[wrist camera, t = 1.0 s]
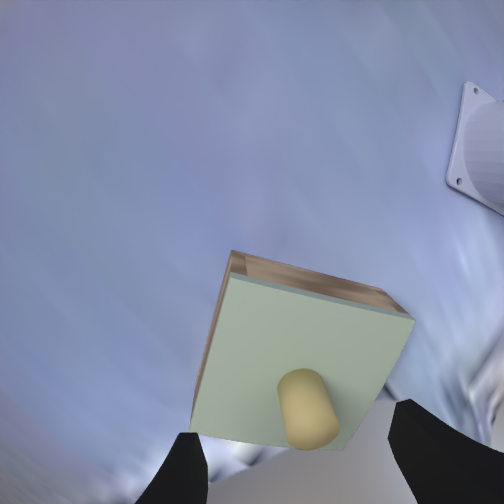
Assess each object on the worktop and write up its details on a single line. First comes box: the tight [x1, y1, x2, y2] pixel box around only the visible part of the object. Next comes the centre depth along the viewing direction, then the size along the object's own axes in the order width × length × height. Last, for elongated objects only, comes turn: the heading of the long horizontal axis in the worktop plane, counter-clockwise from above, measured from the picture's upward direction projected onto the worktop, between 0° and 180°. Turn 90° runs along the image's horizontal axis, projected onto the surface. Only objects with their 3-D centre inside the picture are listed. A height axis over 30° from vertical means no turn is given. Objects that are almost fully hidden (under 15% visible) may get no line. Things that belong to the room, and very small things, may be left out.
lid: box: [189, 272, 416, 450], centre depth 15 cm, size 10×10×4 cm
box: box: [190, 250, 408, 422], centre depth 19 cm, size 10×10×4 cm
